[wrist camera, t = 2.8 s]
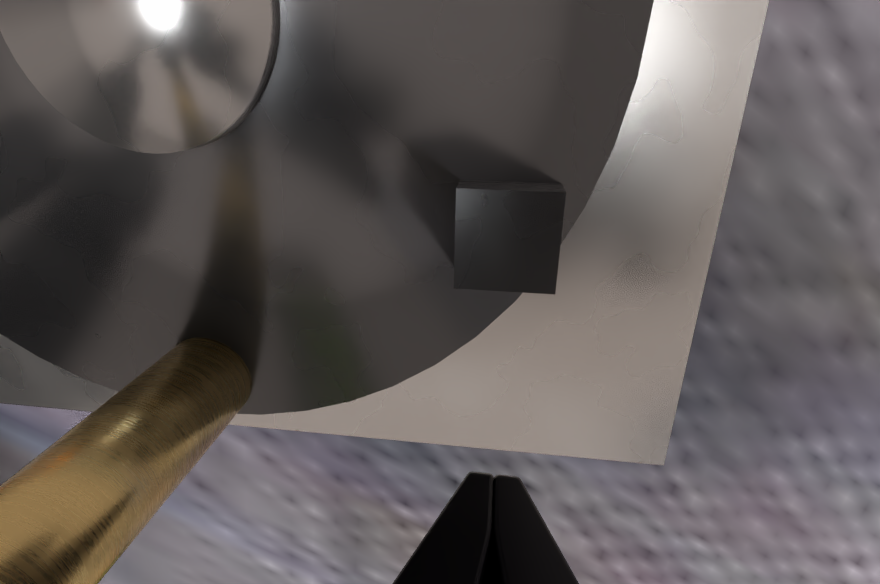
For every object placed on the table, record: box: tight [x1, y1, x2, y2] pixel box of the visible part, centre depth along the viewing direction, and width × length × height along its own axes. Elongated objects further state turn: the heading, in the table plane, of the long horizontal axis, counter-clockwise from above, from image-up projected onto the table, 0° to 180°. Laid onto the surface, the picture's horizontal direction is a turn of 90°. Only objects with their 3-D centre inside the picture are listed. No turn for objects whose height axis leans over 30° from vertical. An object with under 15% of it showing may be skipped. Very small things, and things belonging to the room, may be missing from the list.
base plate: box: [0, 0, 769, 465], centre depth 11 cm, size 23×23×4 cm
